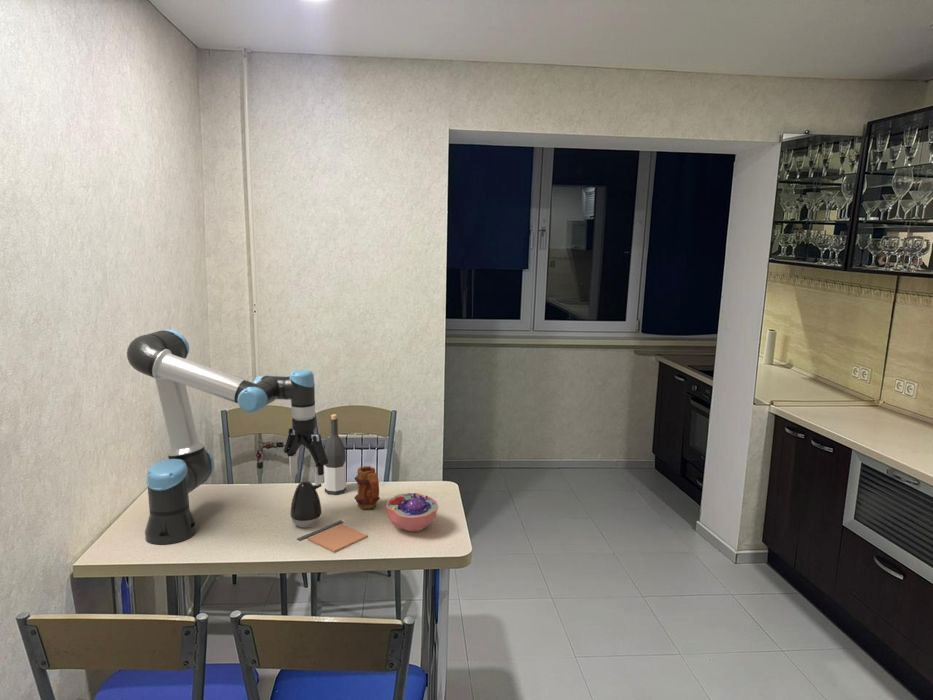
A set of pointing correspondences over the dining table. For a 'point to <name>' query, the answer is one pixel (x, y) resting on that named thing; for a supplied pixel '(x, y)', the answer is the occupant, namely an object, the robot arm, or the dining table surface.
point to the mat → (337, 538)
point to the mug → (367, 487)
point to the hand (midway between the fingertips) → (306, 479)
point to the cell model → (411, 511)
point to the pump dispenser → (306, 505)
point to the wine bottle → (335, 462)
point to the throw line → (320, 530)
